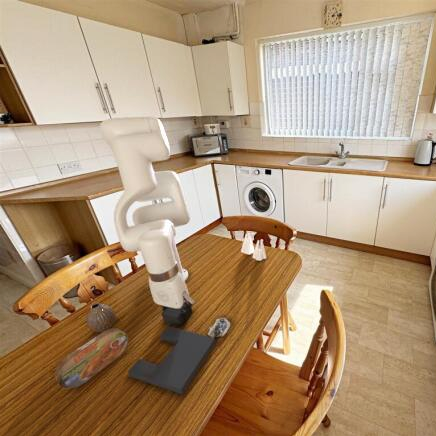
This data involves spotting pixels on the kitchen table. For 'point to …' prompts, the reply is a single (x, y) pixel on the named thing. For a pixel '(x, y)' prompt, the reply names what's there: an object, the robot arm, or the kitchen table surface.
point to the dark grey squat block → (173, 316)
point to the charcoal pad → (176, 361)
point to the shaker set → (249, 248)
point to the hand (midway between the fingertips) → (178, 316)
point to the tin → (91, 358)
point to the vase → (100, 317)
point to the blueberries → (219, 328)
